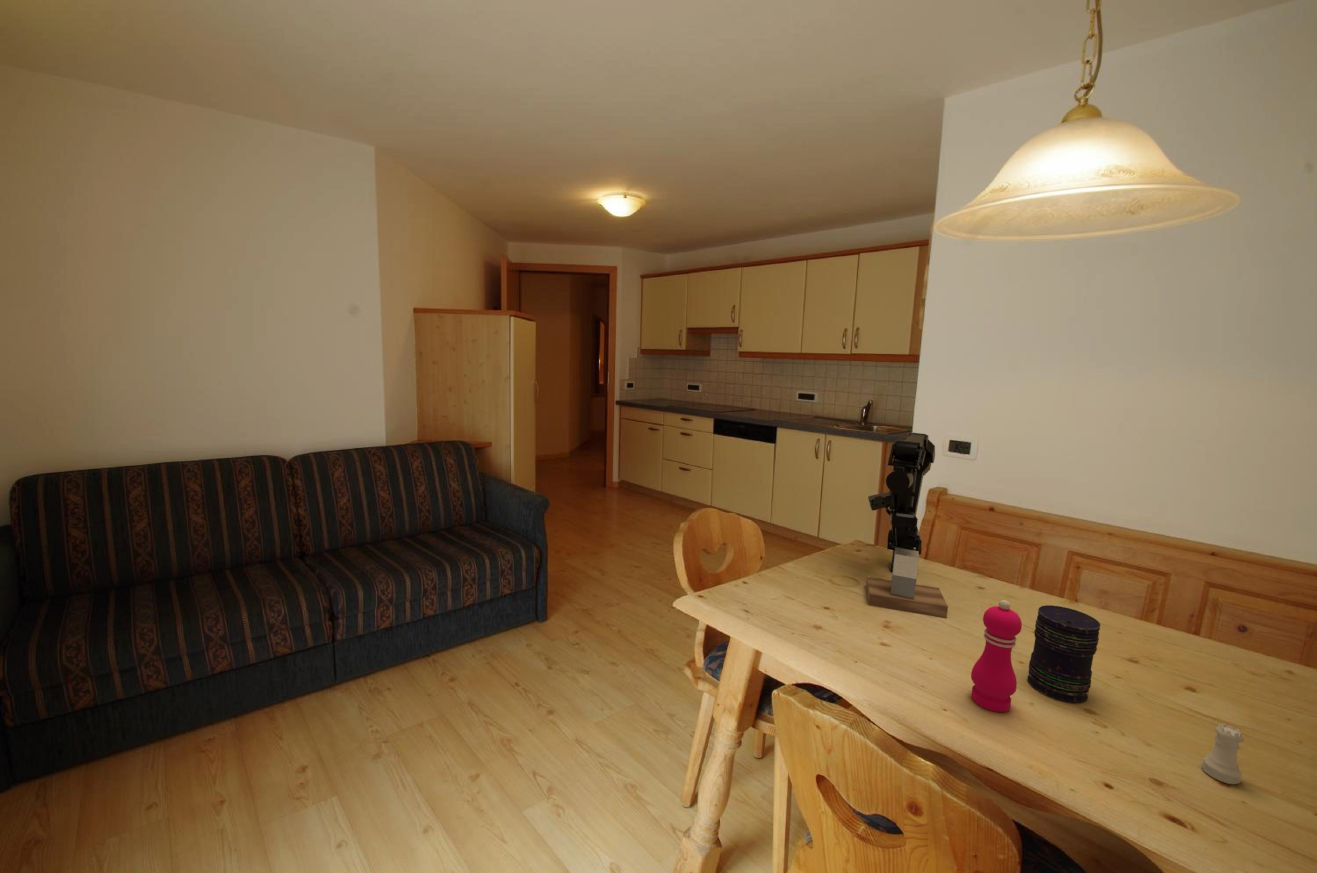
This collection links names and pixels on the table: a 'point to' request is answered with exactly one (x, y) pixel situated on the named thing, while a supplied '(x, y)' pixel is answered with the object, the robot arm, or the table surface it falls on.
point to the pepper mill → (996, 659)
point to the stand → (923, 603)
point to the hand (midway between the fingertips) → (896, 541)
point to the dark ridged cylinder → (1063, 653)
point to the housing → (904, 573)
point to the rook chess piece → (1224, 755)
